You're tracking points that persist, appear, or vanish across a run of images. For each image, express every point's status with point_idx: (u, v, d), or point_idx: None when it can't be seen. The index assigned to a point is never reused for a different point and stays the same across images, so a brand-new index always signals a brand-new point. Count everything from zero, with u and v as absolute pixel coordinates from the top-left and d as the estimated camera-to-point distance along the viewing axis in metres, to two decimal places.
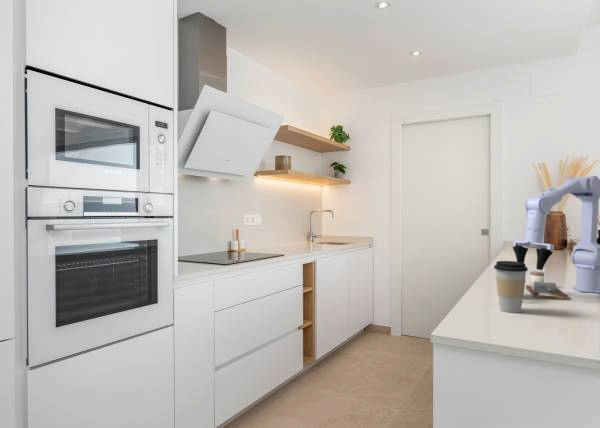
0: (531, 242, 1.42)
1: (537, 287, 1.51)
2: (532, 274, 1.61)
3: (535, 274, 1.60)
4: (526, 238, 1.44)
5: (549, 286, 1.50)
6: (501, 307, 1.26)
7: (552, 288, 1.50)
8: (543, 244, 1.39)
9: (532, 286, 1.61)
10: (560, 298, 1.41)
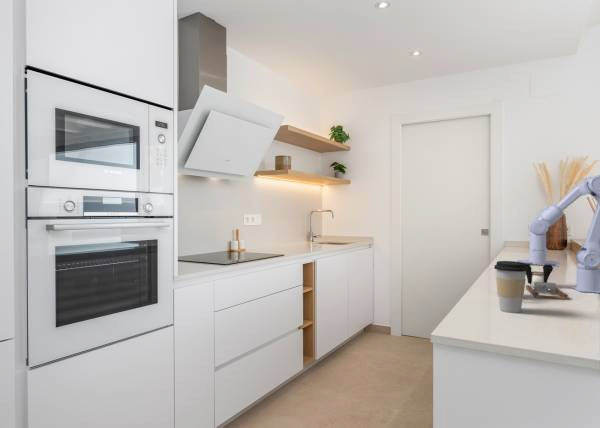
0: None
1: (537, 287, 1.51)
2: (532, 274, 1.61)
3: (535, 274, 1.60)
4: None
5: (549, 286, 1.50)
6: (501, 307, 1.26)
7: (552, 288, 1.50)
8: None
9: (532, 286, 1.61)
10: (560, 298, 1.41)
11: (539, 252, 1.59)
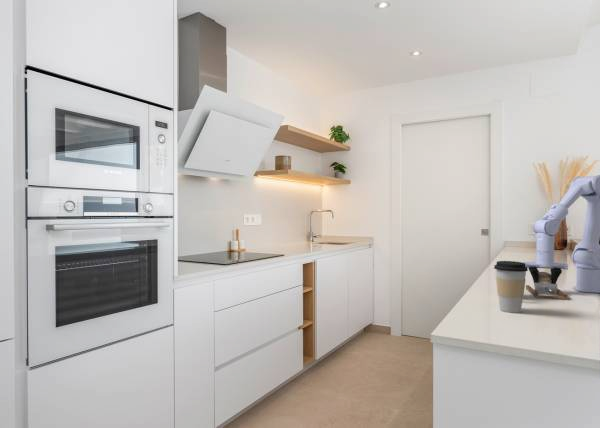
0: None
1: (538, 288, 1.50)
2: (538, 279, 1.52)
3: (542, 280, 1.51)
4: None
5: (550, 287, 1.49)
6: (501, 307, 1.26)
7: (553, 289, 1.48)
8: None
9: None
10: (560, 298, 1.41)
11: (547, 254, 1.48)
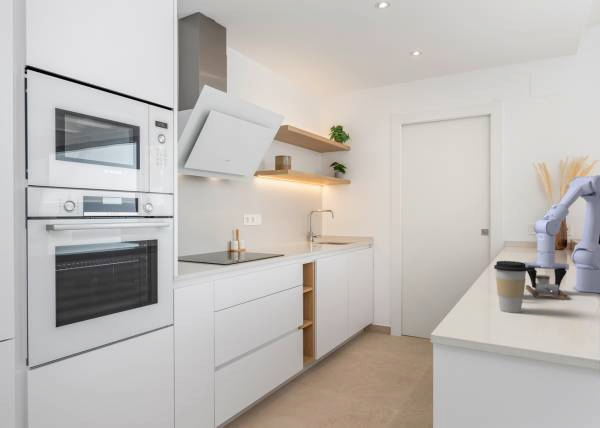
0: None
1: (539, 289, 1.49)
2: (537, 277, 1.53)
3: (540, 277, 1.52)
4: None
5: (551, 288, 1.47)
6: (501, 307, 1.26)
7: (554, 290, 1.47)
8: None
9: None
10: (560, 298, 1.41)
11: (548, 254, 1.47)
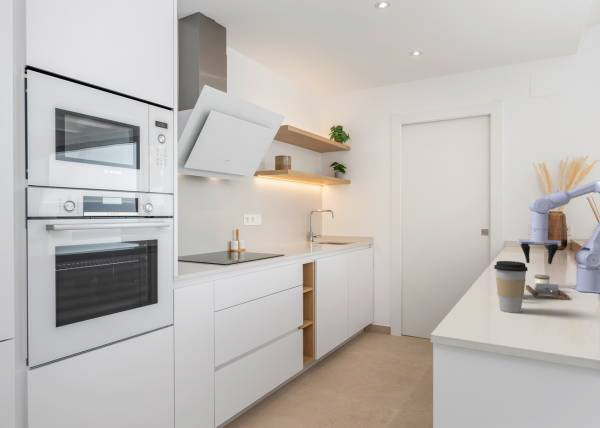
0: None
1: (539, 289, 1.49)
2: (537, 278, 1.53)
3: (540, 278, 1.52)
4: None
5: (551, 288, 1.47)
6: (501, 307, 1.26)
7: (554, 290, 1.47)
8: None
9: None
10: (560, 298, 1.41)
11: (541, 231, 1.57)
